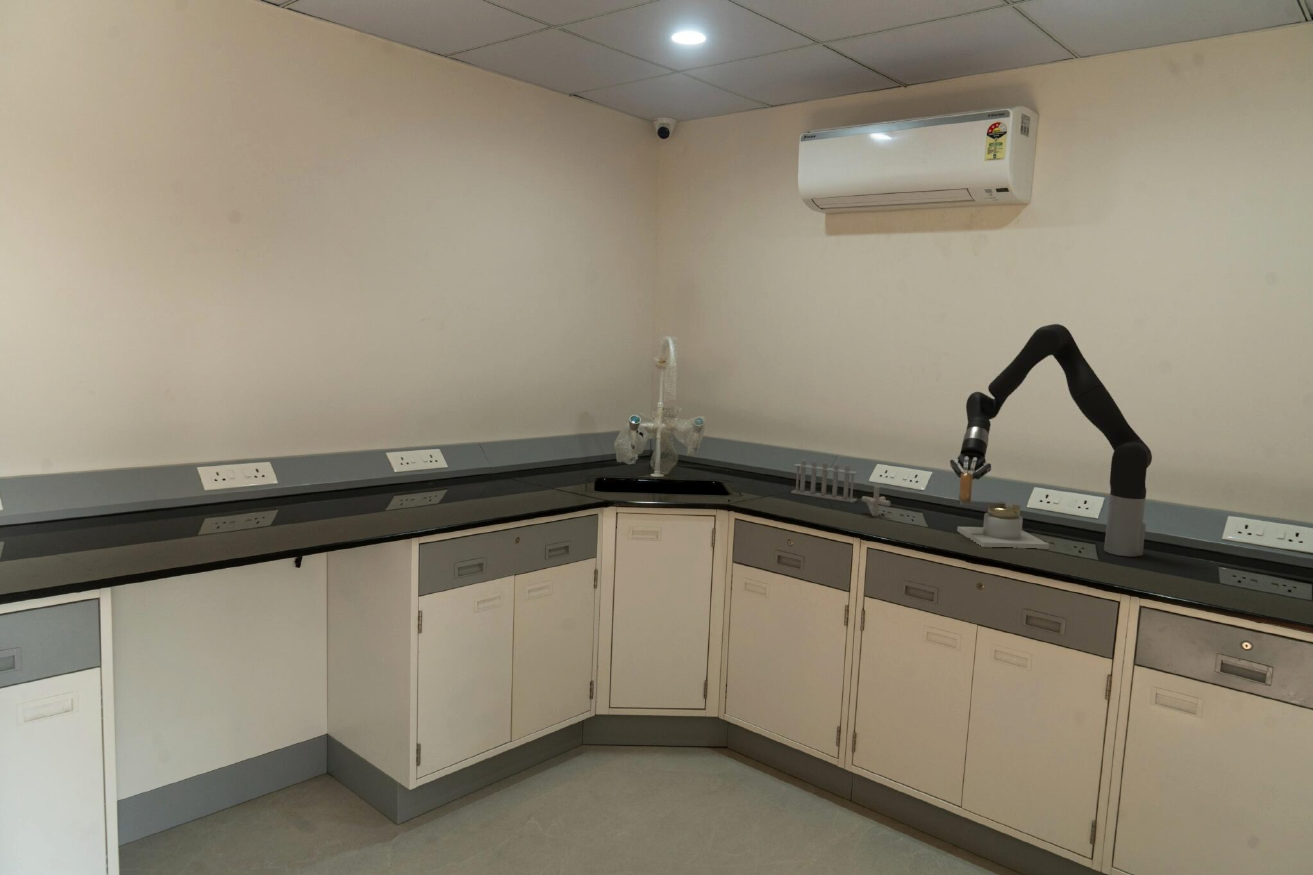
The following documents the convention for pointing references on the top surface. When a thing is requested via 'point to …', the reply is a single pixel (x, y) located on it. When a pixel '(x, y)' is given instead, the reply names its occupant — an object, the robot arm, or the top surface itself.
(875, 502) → the pipe connector
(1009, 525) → the cylinder on square plate
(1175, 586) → the top surface
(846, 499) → the test tube rack
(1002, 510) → the lever-handled chuck
